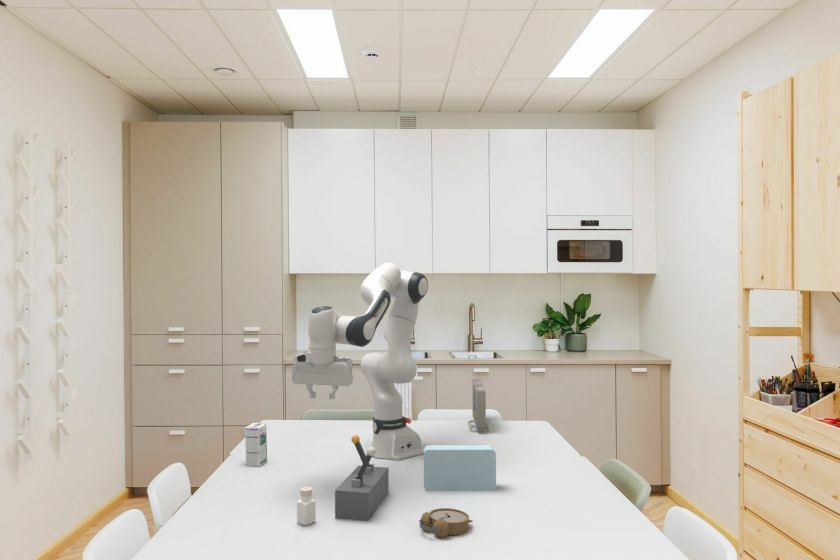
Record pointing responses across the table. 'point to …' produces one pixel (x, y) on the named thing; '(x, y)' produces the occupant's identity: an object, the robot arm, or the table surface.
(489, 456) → the light blue rounded box
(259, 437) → the syrup box
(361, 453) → the orange lever
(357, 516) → the switch box
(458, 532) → the alarm clock
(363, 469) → the grey lever
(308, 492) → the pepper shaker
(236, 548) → the table surface
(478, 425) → the network device
